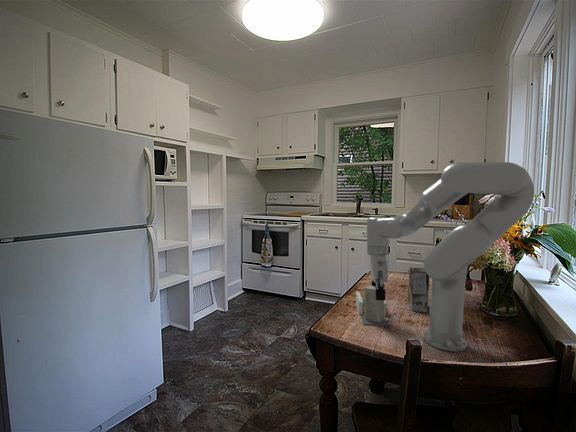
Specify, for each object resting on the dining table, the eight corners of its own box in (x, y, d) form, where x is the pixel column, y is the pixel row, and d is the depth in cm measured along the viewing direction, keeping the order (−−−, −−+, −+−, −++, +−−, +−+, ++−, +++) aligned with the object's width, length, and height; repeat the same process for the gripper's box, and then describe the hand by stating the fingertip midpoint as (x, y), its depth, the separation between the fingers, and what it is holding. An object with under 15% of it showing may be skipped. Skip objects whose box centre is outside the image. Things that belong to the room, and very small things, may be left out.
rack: (386, 315, 120) (386, 303, 120) (358, 314, 121) (359, 302, 121) (380, 304, 133) (380, 293, 132) (355, 303, 134) (356, 291, 133)
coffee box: (428, 312, 124) (430, 273, 123) (411, 311, 125) (412, 272, 124) (422, 304, 133) (424, 267, 132) (407, 303, 134) (408, 267, 133)
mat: (389, 326, 111) (389, 325, 111) (363, 324, 112) (363, 323, 112) (384, 316, 120) (384, 315, 120) (360, 314, 121) (360, 313, 121)
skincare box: (384, 319, 115) (385, 288, 115) (379, 323, 112) (380, 290, 111) (368, 315, 120) (369, 284, 119) (363, 318, 116) (364, 287, 115)
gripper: (393, 254, 105) (393, 303, 105) (383, 246, 122) (384, 289, 122) (370, 254, 105) (371, 303, 106) (364, 246, 123) (364, 289, 123)
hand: (378, 295), depth 114 cm, fingers open, 9 cm apart
